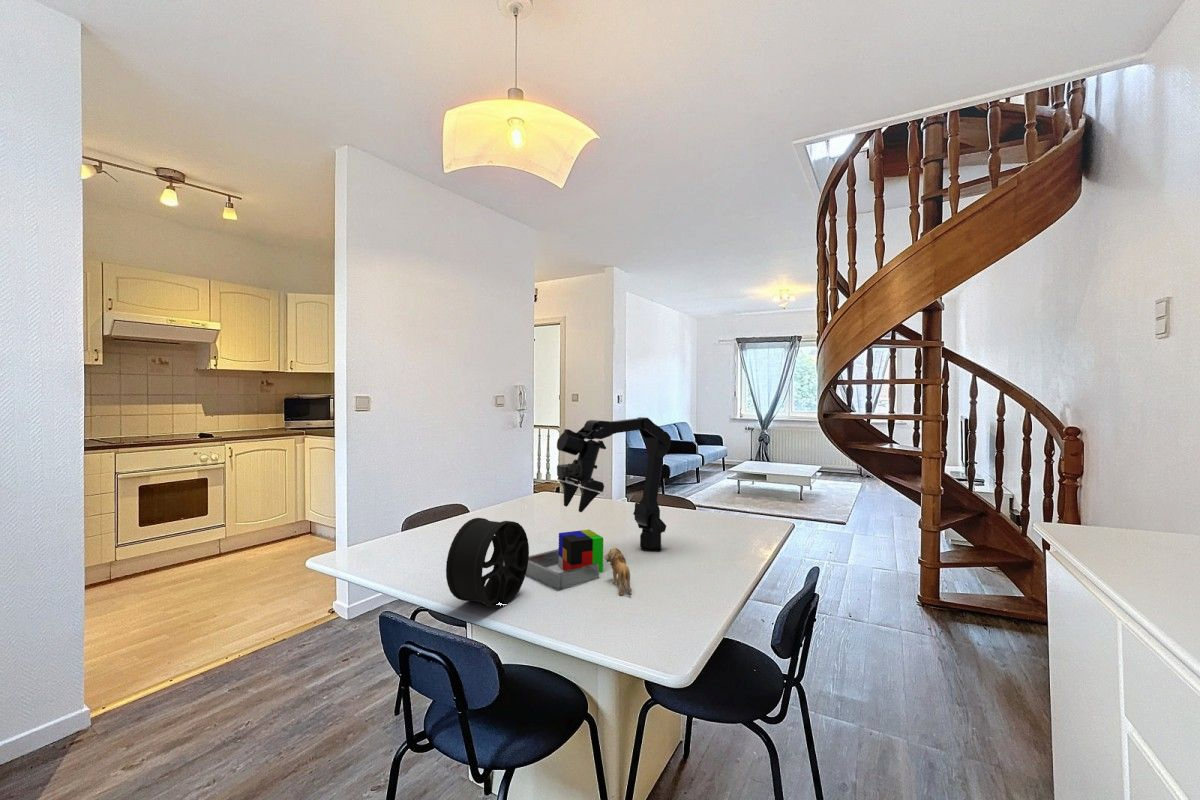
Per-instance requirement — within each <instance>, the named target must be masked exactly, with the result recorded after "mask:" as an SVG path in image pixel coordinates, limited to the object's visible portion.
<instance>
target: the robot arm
mask: <svg viewBox="0 0 1200 800" xmlns="http://www.w3.org/2000/svg"><path fill="white" fill-rule="evenodd" d="M634 431H638V432H639V433H640V435H641V437H642V438H643V439H644V440H645V450H646V453H647V456H648V458H647V465H646V471H645V476H644V477H645V478H644V479H645V480H644V485H643V490H642V491H643V494H642V497H641V499H640V501H639V502H634V503H635V504H634V511H633V513H632V515H634V521H635V522H636V523H637V527H638V528H639V529H642V530H641V533H640V535H639V537H640V539H639V542H640V543H639V546H640V550H641V551H650V552H651V551H653V552H661V551H662V547H663V546H662V533H666V528H667V525H666V524H665V522H664V521H663V520H662V519H661V509H660V506H659V503H658V496H659V491H660V489H659V488H660V482H661V474H662V467H663V460H664V458H665V456H666V455H667V453H668V452H669V450H670V446H671V443H672V437H671V435H670V434H669V433H668V432H667V431H665V430H664V429H663V428H662V427H660V426H659V425H657V424H656V423H654V422H653V420H651V419H650V418H649V417H643V416H642V417H641V416H639V417H637V418H636V417H635V418H629V419H622V420H621V419H619V420H611V421H608V420H597V419H589V420H587V421H586V422H585V423H584V426H583V427H582V428H580V429H579V430H578V431H577V432H575V431H573V430H571V429H568V428H565V429H564V430H563V432H562V433H561V434H560V436H559V438H557V441H556V448H557V450H558V451H560V452H563V453H565V454H566V453H567V454H570V455H572V456H577V459H574V460H573V461H572V463H566V464H557V465H556V476H557V480H559V483H560V484H561V486H562V488H563V506H564V507H567V508H568V506H569V505H570V503H571V501H572V500H573V498H574V496H575V495H576V492H577V490H578V489H579V491H580V500H579V504H578V505H579V506H578V512H579V513H583V512H584V510H586V508H587V507H588V506H589V505H590V503H592V501H593V500H594V499H595V498H596V497H597V496H598V495H600V494H601V493H604V489H605V484H604V482H602V481H599V480H595V479H594V478H593V477H592V476H593V473H594V470H597V468H598V465H596V463H597V460H598V459H597V458H598V455H599V452H600V449H601V450H606V449H607V447H606V445H605V442H604V440H603V439H605V438H608V437H611V436H613V435H615V434H619V433H626V432H634ZM596 439H597V441H596ZM578 485H580V486H581V487H580V486H578Z"/></svg>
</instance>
